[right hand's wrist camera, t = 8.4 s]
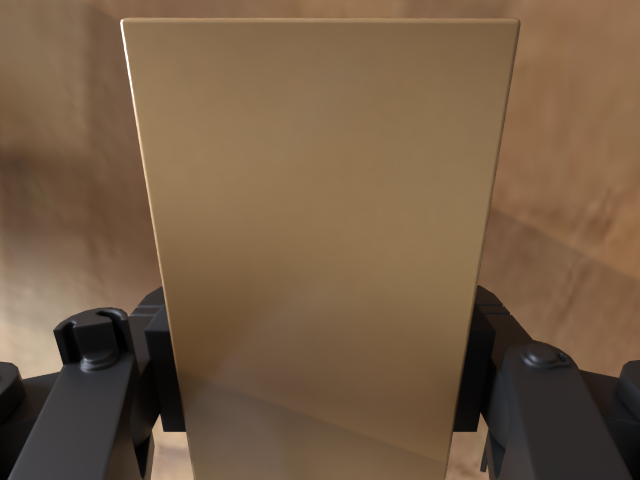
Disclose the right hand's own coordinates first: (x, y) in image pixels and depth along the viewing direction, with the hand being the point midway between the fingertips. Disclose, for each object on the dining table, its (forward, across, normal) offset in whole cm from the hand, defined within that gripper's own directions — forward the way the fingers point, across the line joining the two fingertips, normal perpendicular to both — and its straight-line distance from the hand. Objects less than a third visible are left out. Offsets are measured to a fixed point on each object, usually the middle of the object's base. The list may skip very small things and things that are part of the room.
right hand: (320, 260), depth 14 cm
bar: (+1, 0, -27) cm, 27 cm away
